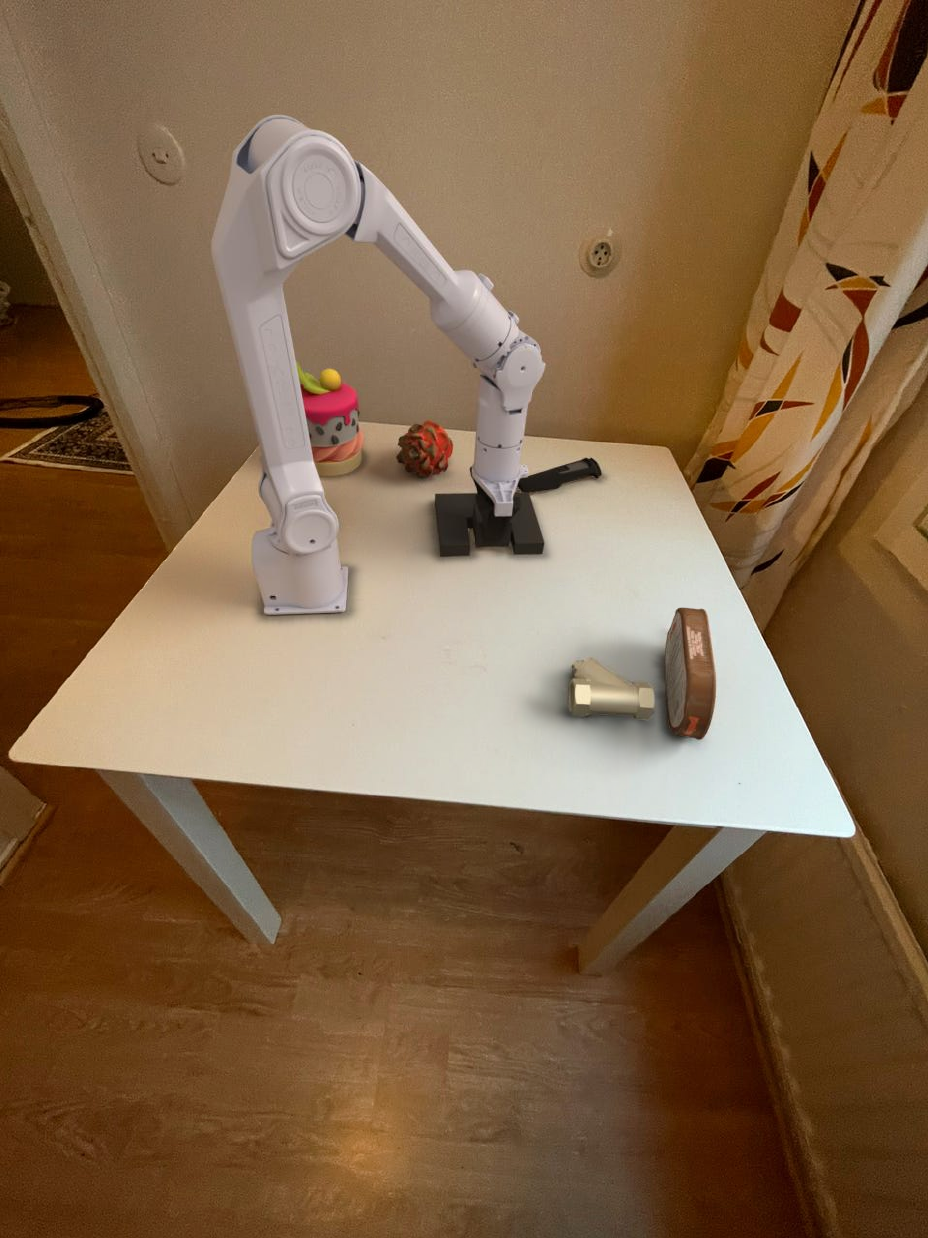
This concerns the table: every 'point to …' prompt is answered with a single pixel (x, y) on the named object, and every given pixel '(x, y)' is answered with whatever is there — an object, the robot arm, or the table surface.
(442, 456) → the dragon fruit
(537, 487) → the electric trimmer
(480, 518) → the pad
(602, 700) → the pipe fitting
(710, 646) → the tin
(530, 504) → the pad base
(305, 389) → the cake
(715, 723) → the table surface
